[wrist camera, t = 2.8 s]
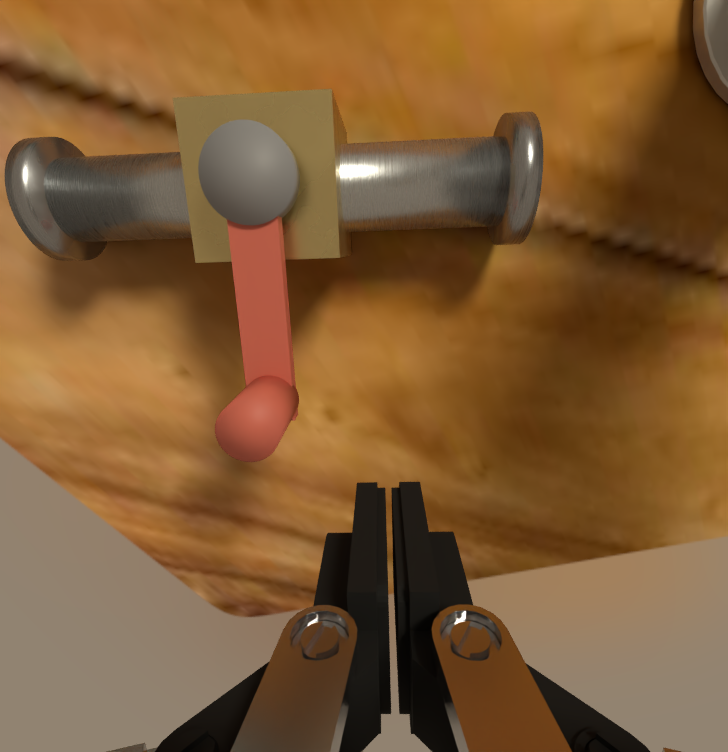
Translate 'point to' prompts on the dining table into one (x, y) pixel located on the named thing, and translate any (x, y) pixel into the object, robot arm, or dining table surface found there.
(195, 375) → the dining table surface
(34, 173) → the valve body
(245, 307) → the lever
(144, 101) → the dining table surface
